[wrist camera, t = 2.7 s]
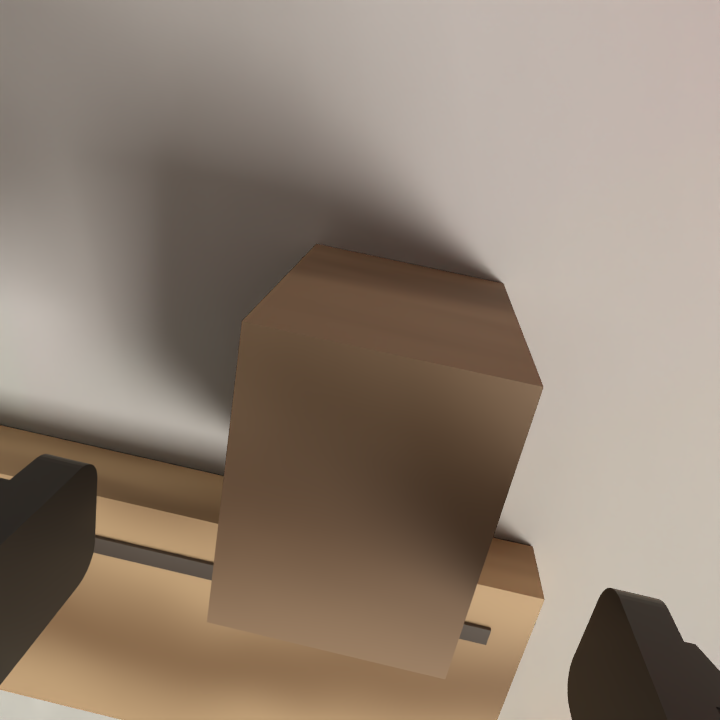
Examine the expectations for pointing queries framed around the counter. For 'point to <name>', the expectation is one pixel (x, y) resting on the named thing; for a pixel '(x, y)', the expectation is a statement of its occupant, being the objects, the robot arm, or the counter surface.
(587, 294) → the counter surface
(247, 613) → the walnut block
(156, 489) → the oak board
